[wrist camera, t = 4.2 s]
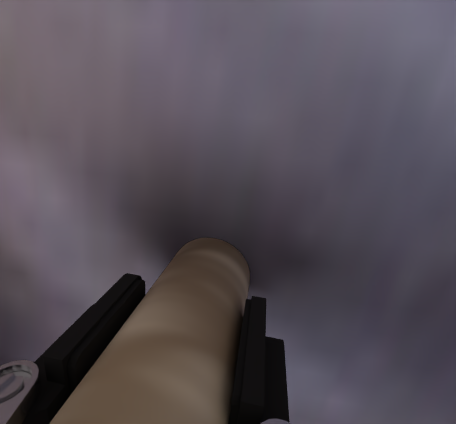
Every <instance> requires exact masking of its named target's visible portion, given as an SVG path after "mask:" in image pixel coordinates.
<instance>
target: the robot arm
mask: <svg viewBox="0 0 456 424" xmlns="http://www.w3.org/2000/svg"><path fill="white" fill-rule="evenodd" d="M144 296H145V281H144V280H142V278H141V276H139V275H133V274H128V273H127V274H125V275H123V276H122V277H121V278H120V279H119V280H118V281H117V282H116V283H115V284H114V285H113V286H112V287H111V288H110V289H109V290H108V291H107V292H106V293H105V294H104V295H103V296H102V297H101V298H100V299H99V300H98V301H97V302H96V303H95V304H93V305H92V306H91V307H90V308H89V309H88V310H87V311H86V312H85V313H84V314H83V315H82V316H81V317H80V318H79V319H78V320H77V321H76V322H75V323H74V324H73V325H71V326H70V327H69V328H68V329H67V330H66V331H65V332H64V333H63V334H62V335H61V336H60V337H59V338H58V339H57V340H56V341H55V342H54V343H53V344H52V345H51V346H50V347H49V348H48V349H47V350H46V351H45V352H44V353H43V354H42V355H41V356H40V357H39V358H38V359H37V360H36V361H35V362H34V363H33V362H32V361H28V360H18V361H13V362H9V363H6V364H4V365H1V366H0V424H49V423H50V422H51V421H52V419H53V418H54V417H55V415H56V414H57V413H58V411H59V410H60V409H61V407H62V406H63V405H64V403H65V402H66V401H67V399H68V398H69V397H70V395H71V394H72V393H73V391H74V390H75V389H76V387H77V386H78V385H79V383H80V382H81V381H82V379H83V378H84V377H85V375H86V374H87V373H88V371H89V370H90V369H91V367H92V366H93V365H94V363H95V362H96V361H97V359H98V358H99V357H100V355H101V354H102V353H103V351H104V350H105V349H106V347H107V346H108V345H109V343H110V342H111V340H112V339H113V338H114V336H115V335H116V334H117V332H118V331H119V330H120V328H121V327H122V326H123V324H124V323H125V322H126V320H127V319H128V318H129V316H130V315H131V314H132V312H133V311H134V310H135V308H136V307H137V306H138V304H139V303H140V302H141V300H142V299H143V298H144ZM265 333H266V298H261V297H255V296H252V298H251V300H250V299H246V302H245V309H244V315H243V323H242V330H241V337H240V344H239V351H238V358H237V365H236V372H235V379H234V386H233V394H232V401H231V408H230V415H229V422H228V424H290V423H289V411H288V396H287V381H286V366H285V351H284V341H283V340H281V339H276V338H271V337H266V336H265Z"/></svg>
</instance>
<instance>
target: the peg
mask: <svg viewBox="0 0 456 424" xmlns="http://www.w3.org/2000/svg"><path fill="white" fill-rule="evenodd" d="M249 281H250V271H249V267H248V264H247V262H246V260H245V258H244V257H243V255H242V254H241V253H240V252H239V251H238V250H237V249H236V248H235V247H234V246H232V245H231V244H229V243H227V242H225V241H222V240H220V239H215V238H199V239H195V240H192V241H190V242H188V243H187V244H185V245H184V246H183V247H182V248H181V249H180V250H179V251H178V252H177V254H176V255H175V256H174V258H173V259H172V260H171V262H170V263H169V264H168V266H167V267H166V268H165V270H164V271H163V272H162V274H161V275H160V276H159V278H158V279H157V280H156V282H155V283H154V284H153V286H152V287H151V288H150V290H149V291H148V292H147V294H146V295H145V296H144V298H143V299H142V300H141V302H140V303H139V304H138V306H137V307H136V308H135V310H134V311H133V312H132V314H131V315H130V316H129V318H128V319H127V320H126V322H125V323H124V324H123V326H122V327H121V328H120V330H119V331H118V332H117V334H116V335H115V336H114V338H113V339H112V340H111V342H110V343H109V345H108V346H107V347H106V349H105V350H104V351H103V353H102V354H101V355H100V357H99V358H98V359H97V361H96V362H95V363H94V365H93V366H92V367H91V369H90V370H89V371H88V373H87V374H86V375H85V377H84V378H83V379H82V381H81V382H80V383H79V385H78V386H77V387H76V389H75V390H74V391H73V393H72V394H71V395H70V397H69V398H68V399H67V401H66V402H65V403H64V405H63V406H62V407H61V409H60V410H59V411H58V413H57V414H56V415H55V417H54V418H53V419H52V421H51V422H50V423H49V424H228V422H229V415H230V408H231V401H232V394H233V386H234V379H235V372H236V365H237V358H238V351H239V344H240V337H241V330H242V323H243V315H244V309H245V302H246V299H247V297H248V289H249Z"/></svg>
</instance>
